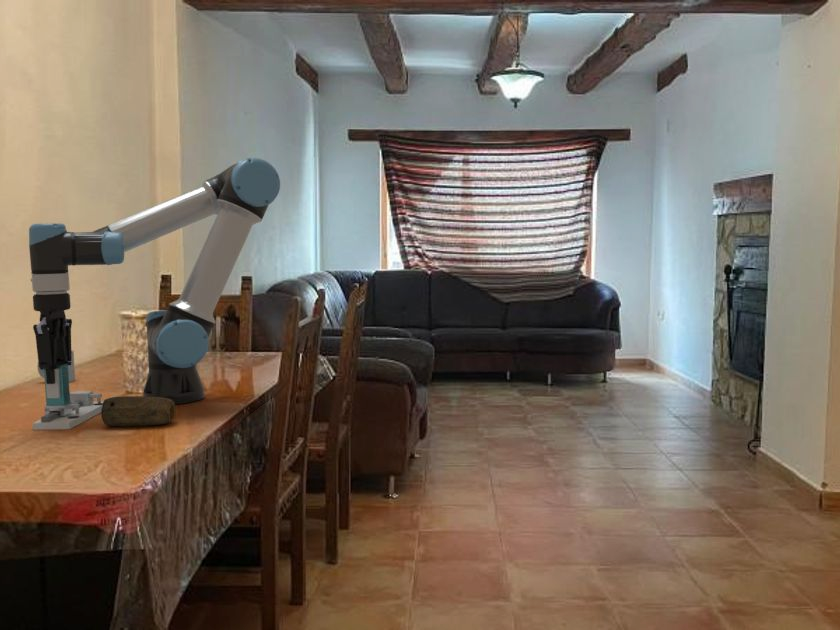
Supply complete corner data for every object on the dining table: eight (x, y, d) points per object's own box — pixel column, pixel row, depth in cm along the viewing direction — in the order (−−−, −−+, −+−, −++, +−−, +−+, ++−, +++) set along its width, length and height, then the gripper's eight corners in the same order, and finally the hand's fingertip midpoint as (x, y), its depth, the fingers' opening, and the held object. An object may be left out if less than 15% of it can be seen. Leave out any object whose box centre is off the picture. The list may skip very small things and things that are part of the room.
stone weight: (99, 431, 166) (98, 401, 166) (107, 424, 173) (106, 394, 173) (171, 427, 169) (170, 397, 168) (177, 420, 176) (175, 391, 175)
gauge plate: (109, 407, 190) (108, 389, 190) (69, 429, 168) (68, 408, 168) (77, 408, 190) (76, 390, 190) (32, 429, 168) (31, 409, 168)
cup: (72, 383, 226) (70, 352, 225) (35, 385, 223) (33, 354, 222) (77, 378, 233) (75, 349, 232) (41, 380, 230) (39, 351, 229)
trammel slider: (83, 412, 177) (80, 362, 176) (75, 415, 173) (72, 365, 172) (53, 412, 177) (50, 363, 176) (45, 416, 173) (41, 366, 172)
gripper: (52, 290, 181) (58, 389, 183) (15, 295, 164) (22, 403, 167) (84, 290, 180) (89, 389, 183) (50, 294, 164) (57, 403, 167)
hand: (57, 395), depth 175 cm, fingers closed on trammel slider, 3 cm apart
